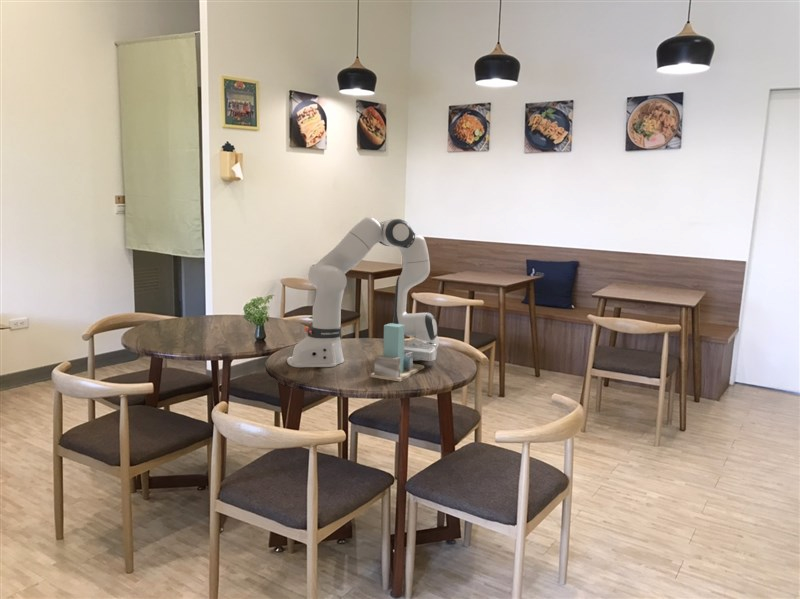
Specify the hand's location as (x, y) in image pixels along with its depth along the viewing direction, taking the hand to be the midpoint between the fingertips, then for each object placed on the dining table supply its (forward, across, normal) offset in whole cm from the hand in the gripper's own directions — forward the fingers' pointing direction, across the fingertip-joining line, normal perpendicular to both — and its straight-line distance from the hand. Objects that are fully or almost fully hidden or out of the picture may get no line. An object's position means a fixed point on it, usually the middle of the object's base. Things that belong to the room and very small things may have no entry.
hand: (402, 356), depth 245 cm
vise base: (+3, 0, +6) cm, 6 cm away
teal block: (+8, 0, +4) cm, 9 cm away
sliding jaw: (+2, 0, +4) cm, 4 cm away
